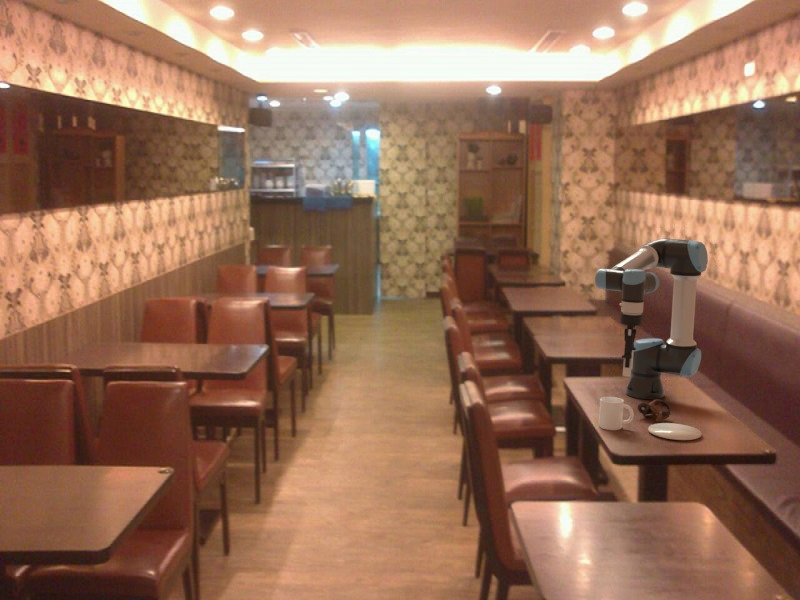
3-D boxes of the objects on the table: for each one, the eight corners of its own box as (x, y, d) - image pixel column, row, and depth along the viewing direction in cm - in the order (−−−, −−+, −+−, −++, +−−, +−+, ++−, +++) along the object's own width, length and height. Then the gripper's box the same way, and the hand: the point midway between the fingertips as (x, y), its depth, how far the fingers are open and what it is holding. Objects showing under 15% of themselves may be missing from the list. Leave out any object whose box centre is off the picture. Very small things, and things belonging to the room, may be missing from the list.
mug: (632, 426, 336) (634, 398, 335) (632, 432, 328) (634, 404, 327) (599, 423, 339) (600, 395, 337) (598, 429, 331) (599, 401, 330)
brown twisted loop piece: (661, 415, 352) (671, 400, 348) (665, 433, 345) (674, 417, 340) (632, 407, 351) (641, 392, 347) (634, 424, 344) (644, 409, 339)
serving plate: (654, 423, 340) (654, 420, 340) (705, 431, 332) (705, 428, 332) (642, 436, 324) (643, 433, 324) (695, 444, 316) (695, 441, 316)
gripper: (622, 307, 339) (618, 364, 342) (618, 317, 315) (614, 378, 318) (643, 308, 337) (639, 365, 340) (641, 319, 313) (636, 380, 316)
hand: (627, 372), depth 329 cm, fingers open, 13 cm apart
